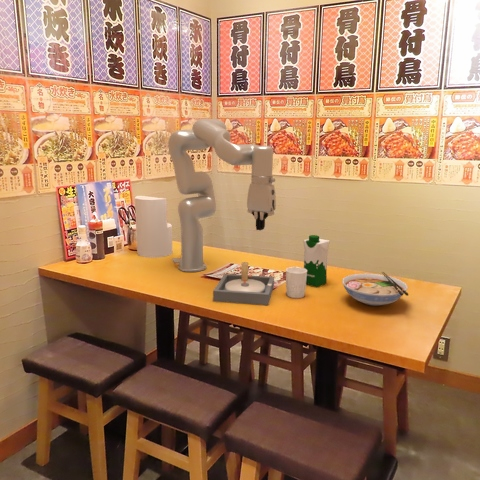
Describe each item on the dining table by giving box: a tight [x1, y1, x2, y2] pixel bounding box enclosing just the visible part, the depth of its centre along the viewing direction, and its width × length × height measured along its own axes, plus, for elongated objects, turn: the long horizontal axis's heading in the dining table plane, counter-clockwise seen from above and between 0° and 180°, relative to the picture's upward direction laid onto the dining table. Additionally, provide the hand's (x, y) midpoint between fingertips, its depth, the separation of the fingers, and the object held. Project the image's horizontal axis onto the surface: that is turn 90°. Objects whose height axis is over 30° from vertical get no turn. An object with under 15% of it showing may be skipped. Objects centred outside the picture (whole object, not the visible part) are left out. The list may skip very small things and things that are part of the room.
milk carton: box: [303, 234, 331, 288], centre depth 183 cm, size 9×9×20 cm
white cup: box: [285, 266, 307, 299], centre depth 171 cm, size 8×8×10 cm
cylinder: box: [134, 195, 173, 259], centre depth 224 cm, size 17×17×28 cm
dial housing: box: [212, 273, 275, 306], centre depth 173 cm, size 20×20×4 cm
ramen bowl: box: [342, 271, 409, 307], centre depth 165 cm, size 25×23×8 cm
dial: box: [225, 261, 265, 293], centre depth 172 cm, size 15×15×9 cm
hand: (260, 229), depth 171 cm, fingers closed
